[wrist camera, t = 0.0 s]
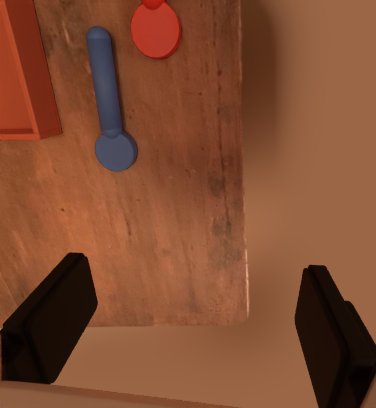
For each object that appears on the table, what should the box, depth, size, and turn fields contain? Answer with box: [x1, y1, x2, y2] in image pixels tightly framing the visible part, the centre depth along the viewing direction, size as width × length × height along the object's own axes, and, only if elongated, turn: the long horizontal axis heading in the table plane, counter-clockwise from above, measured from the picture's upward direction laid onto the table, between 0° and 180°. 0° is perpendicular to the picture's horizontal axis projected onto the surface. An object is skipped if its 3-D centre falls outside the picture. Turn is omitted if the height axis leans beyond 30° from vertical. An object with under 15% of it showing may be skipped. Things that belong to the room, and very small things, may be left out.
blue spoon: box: [86, 26, 137, 171], centre depth 27 cm, size 14×4×2 cm, turn 2°
